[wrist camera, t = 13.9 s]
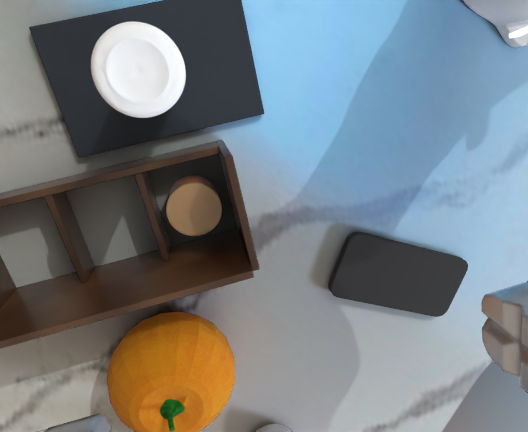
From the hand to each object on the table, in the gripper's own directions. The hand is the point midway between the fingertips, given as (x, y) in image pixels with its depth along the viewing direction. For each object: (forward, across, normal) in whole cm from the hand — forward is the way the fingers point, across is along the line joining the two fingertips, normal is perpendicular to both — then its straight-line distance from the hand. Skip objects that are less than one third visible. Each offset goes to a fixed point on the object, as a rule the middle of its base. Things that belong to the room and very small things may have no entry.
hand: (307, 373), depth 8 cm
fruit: (+29, +9, +19) cm, 36 cm away
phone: (+29, -16, +18) cm, 38 cm away
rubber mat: (+29, +3, -7) cm, 30 cm away
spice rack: (+29, +10, +4) cm, 31 cm away
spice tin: (+29, +3, +4) cm, 30 cm away
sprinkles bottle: (+29, +3, -7) cm, 30 cm away
